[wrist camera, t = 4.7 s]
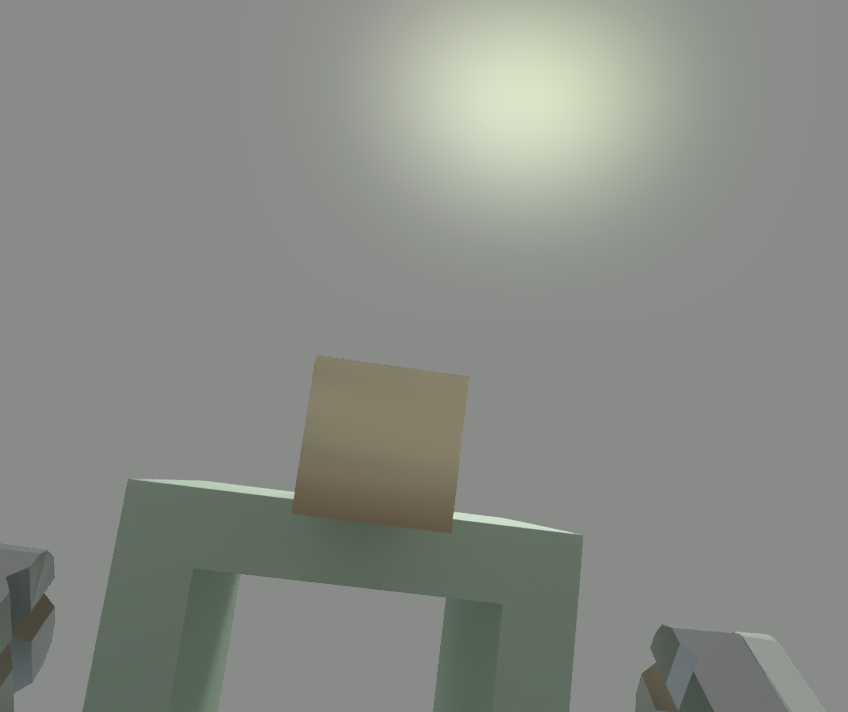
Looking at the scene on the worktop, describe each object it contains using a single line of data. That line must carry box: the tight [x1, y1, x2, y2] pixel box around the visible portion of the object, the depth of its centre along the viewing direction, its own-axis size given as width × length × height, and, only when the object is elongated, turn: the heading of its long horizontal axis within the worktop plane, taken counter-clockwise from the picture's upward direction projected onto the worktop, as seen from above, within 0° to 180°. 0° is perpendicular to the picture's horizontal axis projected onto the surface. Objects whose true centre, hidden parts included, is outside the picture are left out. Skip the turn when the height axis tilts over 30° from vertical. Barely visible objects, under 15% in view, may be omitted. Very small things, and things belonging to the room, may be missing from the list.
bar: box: [291, 355, 469, 533], centre depth 21 cm, size 19×2×2 cm, turn 6°
